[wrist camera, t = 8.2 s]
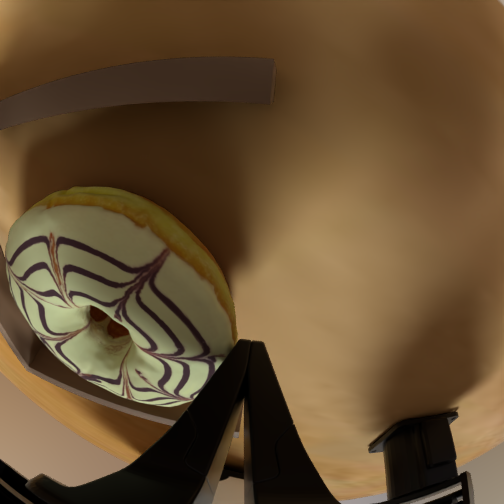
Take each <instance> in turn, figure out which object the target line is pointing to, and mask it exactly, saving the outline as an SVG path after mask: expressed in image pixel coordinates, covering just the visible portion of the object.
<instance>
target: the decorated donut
mask: <svg viewBox="0 0 504 504" xmlns="http://www.w3.org/2000/svg"><path fill="white" fill-rule="evenodd" d="M5 258H6V272H7V277H8V281H9V284H10V291H11V294H12V296H13V298H14V300H15V302H16V305H17V306H18V308H19V309H20V311H21V312H22V314H23V315H24V317H25V318H26V320H27V321H28V323H29V325H30V326H31V328H32V329H33V330H34V332H35V333H36V335H37V336H38V337H39V339H40V340H41V341H42V342H43V343H44V345H45V346H46V347H47V348H48V349H49V350H50V351H51V352H52V353H53V354H54V355H55V356H56V357H57V358H58V359H59V360H60V361H61V362H63V363H64V364H65V365H66V366H67V367H69V368H70V369H71V370H73V371H74V372H75V373H77V374H78V375H79V376H80V377H82V378H83V379H85V380H87V381H89V382H92V383H94V384H96V385H98V386H100V387H102V388H104V389H106V390H108V391H110V392H112V393H114V394H116V395H118V396H121V397H123V398H126V399H130V400H134V401H136V402H140V403H145V404H152V405H157V406H164V407H172V406H177V405H180V404H183V403H187V402H190V401H193V400H194V399H195V397H196V396H197V395H198V393H199V392H200V391H201V390H202V388H203V387H204V386H205V384H206V383H207V382H208V380H209V379H210V378H211V377H212V375H213V374H214V373H215V371H216V370H217V369H218V367H219V366H220V365H221V363H222V362H223V361H224V359H225V358H226V357H227V355H228V354H229V352H230V351H231V350H232V348H233V347H234V346H235V344H236V343H237V336H238V333H237V328H236V315H235V309H234V308H235V307H234V303H233V299H232V297H231V295H230V291H229V288H228V286H227V285H228V284H227V283H226V280H225V276H223V273H222V271H221V269H220V268H219V266H218V264H217V263H216V261H215V258H214V256H213V255H212V254H211V253H210V252H209V251H208V249H207V248H206V247H205V246H204V245H203V244H202V242H201V241H200V240H199V239H198V238H197V237H196V236H195V235H194V234H193V233H192V232H191V231H190V230H189V229H188V228H187V227H186V226H185V225H184V224H182V223H181V222H180V221H179V220H178V219H177V218H176V217H175V216H174V215H172V214H171V213H170V212H169V211H167V210H165V209H164V208H163V207H161V206H159V205H157V204H155V203H154V202H152V201H151V200H149V199H147V198H145V197H142V196H139V195H136V194H134V193H131V192H127V191H125V190H122V189H117V188H111V187H96V186H92V187H80V186H74V187H72V188H71V189H69V190H61V191H57V192H54V193H52V194H50V195H48V196H47V197H45V198H44V199H43V200H41V201H39V202H37V203H36V204H34V205H33V206H32V207H31V208H30V209H28V210H27V212H25V213H24V214H23V215H22V216H21V217H20V218H19V219H17V220H16V222H15V223H14V224H13V225H12V227H11V228H10V231H9V235H8V242H7V244H6V249H5Z"/></svg>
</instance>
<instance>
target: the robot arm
mask: <svg viewBox="0 0 504 504" xmlns="http://www.w3.org/2000/svg"><path fill="white" fill-rule="evenodd" d="M243 400H244V504H341V503H340V502H338V501H337V500H336V499H335V497H334V496H333V495H332V494H331V493H330V491H329V490H328V488H327V487H326V485H325V483H324V482H323V480H322V478H321V477H320V475H319V473H318V472H317V470H316V468H315V467H314V465H313V463H312V461H311V460H310V458H309V456H308V454H307V452H306V450H305V448H304V446H303V444H302V442H301V440H300V437H299V435H298V432H297V430H296V427H295V425H294V424H293V420H292V417H291V414H290V412H289V409H288V406H287V404H286V401H285V398H284V396H283V393H282V390H281V388H280V385H279V382H278V380H277V377H276V374H275V371H274V369H273V366H272V363H271V361H270V358H269V355H268V352H267V350H266V347H265V344H264V342H262V341H252V342H251V340H246V339H239V340H238V342H237V343H236V344H235V346H234V347H233V348H232V350H231V351H230V352H229V354H228V355H227V357H226V358H225V359H224V361H223V362H222V363H221V365H220V366H219V367H218V369H217V370H216V371H215V373H214V374H213V375H212V377H211V378H210V379H209V380H208V382H207V383H206V384H205V386H204V387H203V388H202V390H201V391H200V392H199V393H198V395H197V396H196V397H195V399H194V400H193V401H192V402H191V404H190V405H189V406H188V408H187V410H185V411H184V412H183V414H182V415H181V416H180V418H179V419H178V420H177V421H176V422H175V423H174V425H173V426H172V427H171V428H170V429H169V430H168V431H167V432H166V433H165V434H164V435H163V436H162V437H161V438H160V439H159V440H158V441H157V442H156V443H154V444H153V445H152V446H151V447H150V448H149V449H148V450H147V451H146V452H144V453H143V454H142V455H141V456H140V457H139V458H138V459H136V460H135V461H134V462H133V463H131V464H130V465H128V466H127V467H125V468H124V469H122V470H120V471H117V472H115V473H112V474H110V475H107V476H105V477H102V478H100V479H97V480H94V481H92V482H89V483H86V484H83V485H80V486H76V487H68V486H66V485H64V484H62V483H60V482H58V481H56V480H54V479H52V478H51V477H49V476H47V475H45V474H39V475H38V476H36V477H34V478H32V479H31V480H29V479H27V478H26V477H24V476H23V475H21V474H20V473H19V472H18V471H16V470H15V469H14V468H12V467H11V466H10V465H8V464H7V463H5V462H4V461H2V460H1V459H0V504H212V502H213V499H214V495H215V492H216V489H217V486H218V483H219V480H220V477H221V474H222V470H223V467H224V464H225V461H226V458H227V454H228V451H229V448H230V445H231V441H232V438H233V435H234V431H235V428H236V425H237V421H238V418H239V414H240V411H241V407H242V404H243ZM457 418H458V412H454V413H449V414H444V415H438V416H433V417H427V418H420V419H413V420H406V421H401V422H399V423H397V424H396V425H395V426H393V427H392V428H391V429H390V430H389V431H388V432H387V433H386V434H385V435H384V436H382V437H381V438H380V439H379V440H378V441H377V442H375V443H374V444H373V445H372V446H371V447H370V448H368V451H369V453H376V452H383V453H384V462H385V473H386V485H387V498H388V499H387V500H388V501H385V502H381V503H376V504H410V503H413V502H416V501H419V500H422V499H425V498H428V497H431V496H434V495H436V494H439V493H442V492H444V491H447V490H449V489H452V488H454V487H456V486H459V485H461V486H462V489H460V490H458V491H456V492H453V493H451V494H448V495H446V496H443V497H441V498H438V499H435V500H433V501H430V502H427V503H424V504H474V491H473V485H472V480H471V475H470V473H469V472H467V471H465V472H463V473H461V474H460V475H459V476H458V473H457V467H456V462H455V460H456V458H457V456H456V451H455V446H454V442H453V438H452V433H451V429H450V424H451V423H452V422H453V421H454V420H455V419H457ZM461 499H463V501H459V502H458V500H461Z"/></svg>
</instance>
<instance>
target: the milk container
mask: <svg viewBox="0 0 504 504" xmlns="http://www.w3.org/2000/svg"><path fill="white" fill-rule="evenodd" d="M212 504H244V474H243V473H238V472H234V471H230V470H226V469H223V470H222V474H221V477H220V480H219V483H218V486H217V489H216V492H215V495H214V499H213V502H212Z"/></svg>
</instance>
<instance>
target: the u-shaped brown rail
mask: <svg viewBox="0 0 504 504" xmlns="http://www.w3.org/2000/svg"><path fill="white" fill-rule="evenodd" d="M275 80H276V66H275V62H274V59H267V58H251V57H191V58H175V59H164V60H154V61H146V62H138V63H131V64H125V65H119V66H114V67H108V68H103V69H99V70H94V71H90V72H85V73H81V74H77V75H74V76H70V77H66V78H63V79H59V80H56V81H53V82H49V83H46V84H43V85H40V86H37V87H35V88H32V89H29V90H26V91H24V92H21V93H18V94H16V95H13V96H11V97H9V98H6V99H4V100H2V101H0V130H2V129H5V128H8V127H12V126H15V125H19V124H22V123H26V122H30V121H34V120H38V119H42V118H46V117H51V116H55V115H60V114H65V113H71V112H76V111H82V110H88V109H95V108H102V107H110V106H118V105H128V104H139V103H153V102H174V101H223V102H245V103H259V104H271V103H273V102H274V91H275ZM0 332H1V333H2V335H3V337H4V338H5V340H6V341H7V343H8V344H9V346H10V348H11V349H12V351H13V352H14V353H15V355H16V356H17V358H18V359H19V361H20V362H21V363H22V365H23V366H24V368H25V369H26V370H27V371H29V372H30V373H32V374H34V375H36V376H38V377H40V378H42V379H44V380H46V381H48V382H50V383H52V384H54V385H56V386H58V387H60V388H63V389H65V390H67V391H69V392H72V393H74V394H76V395H79V396H81V397H84V398H86V399H88V400H91V401H94V402H96V403H99V404H102V405H104V406H107V407H110V408H113V409H116V410H118V411H121V412H125V413H128V414H131V415H134V416H137V417H141V418H144V419H148V420H151V421H155V422H159V423H162V424H166V425H170V426H173V425H174V423H175V422H176V421H177V420H178V419H179V418H180V416H181V415H182V414H183V412H184V411H185V410H187V408H188V406H189V405H190V404H191V402H192V401H190V402H187V403H183V404H180V405H177V406H172V407H164V406H157V405H152V404H145V403H140V402H136V401H134V400H130V399H126V398H123V397H121V396H118V395H116V394H114V393H112V392H110V391H108V390H106V389H104V388H102V387H100V386H98V385H96V384H94V383H92V382H89V381H87V380H85V379H83V378H82V377H80V376H79V375H78V374H77V373H75V372H74V371H73V370H71V369H70V368H69V367H67V366H66V365H65V364H64V363H63V362H61V361H60V360H59V359H58V358H57V357H56V356H55V355H54V354H53V353H52V352H51V351H50V350H49V349H48V348H47V347H46V346H45V345H44V343H43V342H42V341H41V340H40V339H39V337H38V336H37V335H36V333H35V332H34V330H33V329H32V328H31V326H30V325H29V323H28V321H27V320H26V318H25V317H24V315H23V314H22V312H21V311H20V309H19V308H18V306H17V305H16V302H15V300H14V298H13V296H12V294H11V291H10V284H9V281H8V277H7V272H6V261H5V258H4V255H3V253H2V250H1V247H0ZM243 403H244V400H243ZM242 410H243V404H242V407H241V411H240V414H239V418H238V421H237V425H236V428H235V431H234V435H233V437H234V438H238V437H239V430H240V424H241V417H242Z"/></svg>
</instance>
